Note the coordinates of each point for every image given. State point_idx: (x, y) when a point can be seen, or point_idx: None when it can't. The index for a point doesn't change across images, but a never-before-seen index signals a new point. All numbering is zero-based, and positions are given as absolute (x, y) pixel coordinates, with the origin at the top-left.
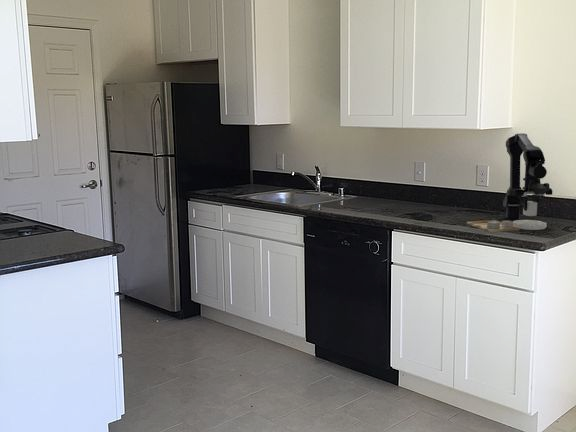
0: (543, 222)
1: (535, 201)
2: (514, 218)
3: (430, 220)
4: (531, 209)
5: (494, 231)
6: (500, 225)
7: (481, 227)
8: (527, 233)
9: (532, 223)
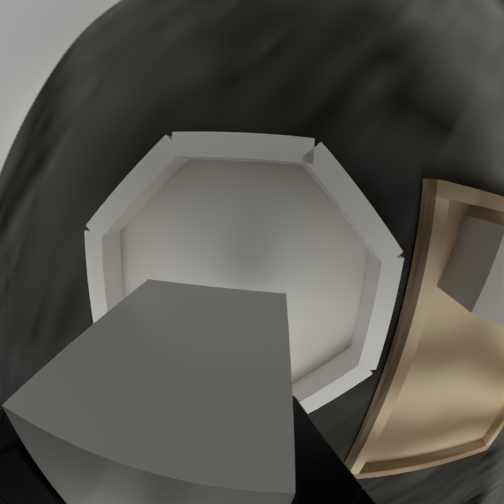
0: (95, 262)
1: (29, 474)
2: None
3: (468, 498)
4: (223, 342)
5: None
6: (402, 398)
7: None
8: (401, 98)
9: None
